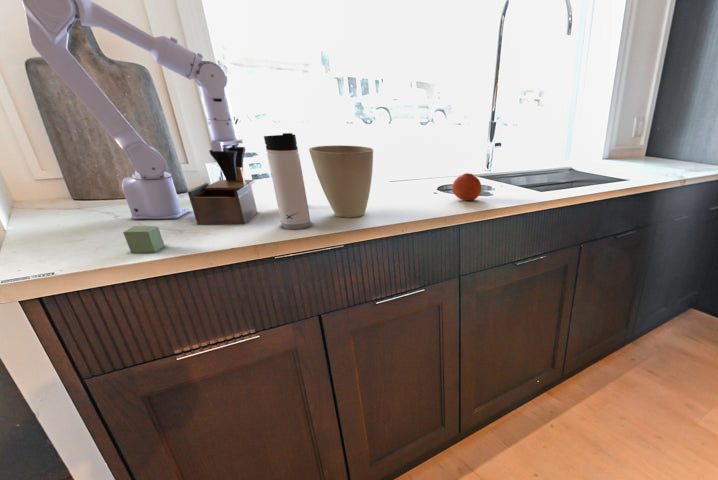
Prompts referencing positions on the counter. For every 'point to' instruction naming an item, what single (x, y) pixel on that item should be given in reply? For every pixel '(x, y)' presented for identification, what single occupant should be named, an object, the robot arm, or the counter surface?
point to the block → (144, 239)
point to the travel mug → (288, 180)
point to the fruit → (467, 187)
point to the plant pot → (344, 177)
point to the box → (222, 205)
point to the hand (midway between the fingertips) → (235, 178)
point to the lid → (231, 182)
